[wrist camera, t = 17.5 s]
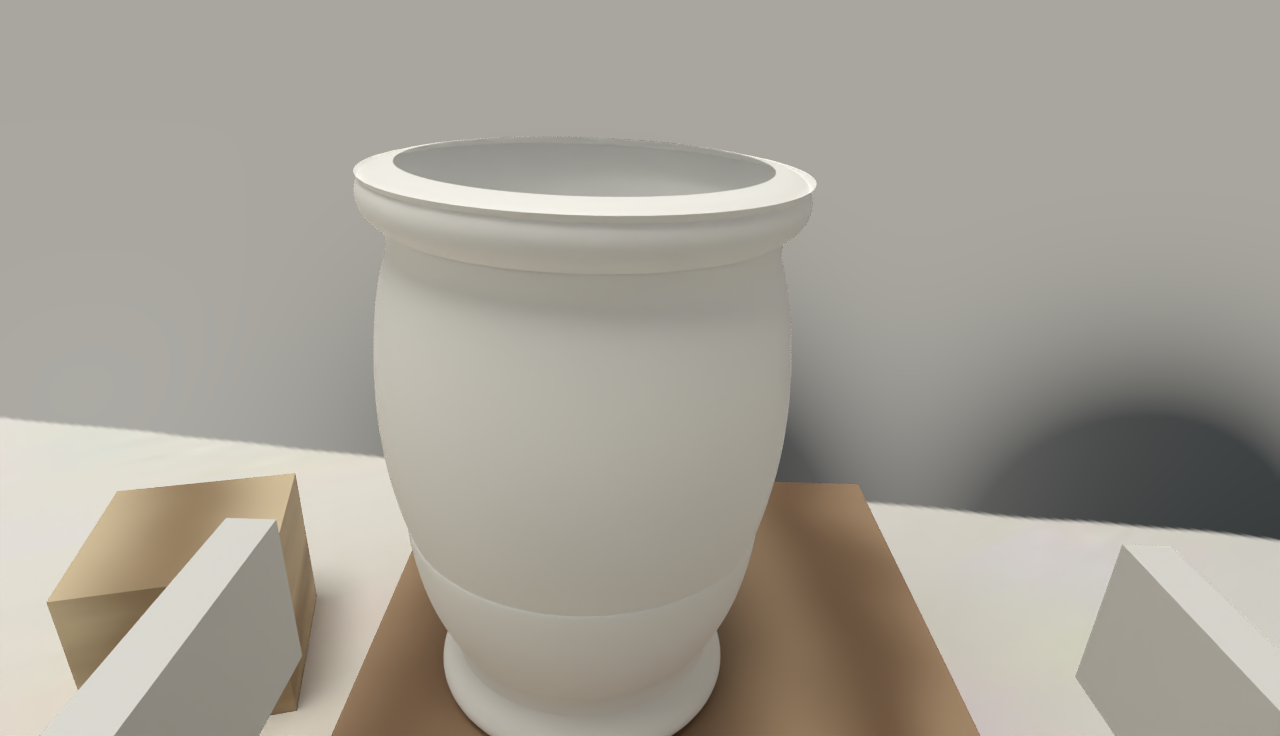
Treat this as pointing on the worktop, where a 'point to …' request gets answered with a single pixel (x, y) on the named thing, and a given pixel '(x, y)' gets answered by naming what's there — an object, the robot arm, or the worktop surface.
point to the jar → (581, 410)
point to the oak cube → (171, 563)
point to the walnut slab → (735, 641)
